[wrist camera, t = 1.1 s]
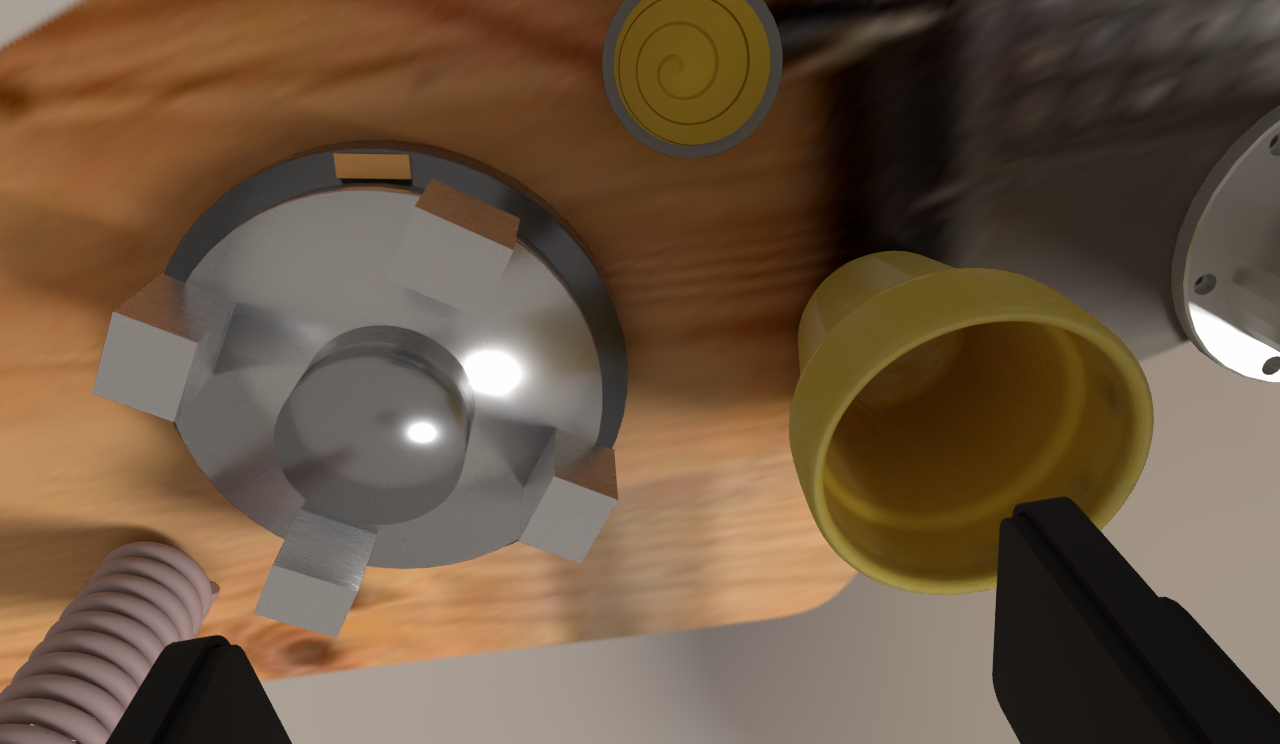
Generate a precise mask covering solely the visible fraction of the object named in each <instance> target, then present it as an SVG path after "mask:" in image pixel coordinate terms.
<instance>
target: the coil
mask: <svg viewBox="0 0 1280 744" xmlns="http://www.w3.org/2000/svg"><path fill="white" fill-rule="evenodd" d="M219 590H220V587H219V586H218V585H217V584H215V583H213V582H210V581H209V579H208V576H207V575H206V573H205V572H204V570H203V569H202V568H201V566H200V565H199V564H198V563H197V562H196V561H195V560H194V559H192V558H191V557H190V556H188V555H187V554H185V553H184V552H182V551H180V550H178V549H176V548H174V547H171V546H169V545H165V544H162V543H157V542H150V541H140V542H132V543H128V544H125V545H122V546H120V547H117V548H115V549H114V550H112V551H111V552H109V554H108V555H107V556H106V557H105V558H104V559H103V561H102V563H101V564H100V566H99V568H97V569H96V570H95V571H94V572H93V574H92V575H91V576H90V578H89V580H88V581H87V584H86V585H84V586H83V587H82V588H81V589H80V590H79V592H78V593H77V595H76V596H75V598H74V600H73V602H72V603H70V604H69V606H68V607H67V608H66V609H65V610H64V611H63V613H62V615H61V616H60V618H59V621H57V622H56V623H55V624H54V625H53V626H52V627H51V628H50V630H49V631H48V632H47V634H46V636H45V638H44V641H42V642H41V643H40V644H39V645H38V646H37V647H36V648H35V649H34V650H33V652H32V653H31V655H30V657H29V660H28V662H26V663H25V664H24V665H23V666H22V667H21V668H20V669H19V670H18V671H17V672H16V674H15V675H14V677H13V679H12V682H11V684H10V685H9V686H7V687H6V688H5V689H4V690H3V691H2V692H1V693H0V744H106V742H107V740H108V739H109V737H110V735H111V734H112V732H113V730H114V729H115V727H116V725H117V724H118V722H119V720H120V719H121V717H122V715H123V714H124V712H125V711H126V709H127V707H128V706H129V704H130V702H131V701H132V699H133V697H134V696H135V694H136V692H137V691H138V689H139V687H140V686H141V684H142V682H143V681H144V679H145V678H146V676H147V674H148V673H149V671H150V669H151V668H152V666H153V664H154V663H155V661H156V659H157V658H158V656H159V654H160V653H161V652H162V650H163V649H164V648H165V647H166V646H167V645H169V644H171V643H172V642H178V641H184V640H190V639H193V638H194V637H195V635H196V634H197V632H198V631H199V628H200V626H201V622H202V621H203V620H204V619H205V617H206V616H207V614H208V612H209V610H210V607H211V605H212V603H213V602H214V601H215V599H216V598H217V596H218V593H219ZM94 718H96V719H94ZM30 724H33V725H34V726H32V725H30ZM71 739H72V740H76V741H72V740H71Z"/></svg>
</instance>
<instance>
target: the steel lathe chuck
mask: <svg viewBox="0 0 1280 744" xmlns="http://www.w3.org/2000/svg"><path fill="white" fill-rule="evenodd" d="M519 221H520V218H518V217H516V216H513V215H511V214H509V213H507V212H505V211H502V210H500V209H498V208H496V207H494V206H492V205H489V204H487V203H485V202H483V201H481V200H478V199H476V198H474V197H472V196H470V195H467V194H465V193H463V192H461V191H459V190H457V189H454V188H452V187H450V186H448V185H446V184H443V183H441V182H439V181H437V180H435V179H431V181H430V182H429V184H428V186H427V187H426V189H423V188H419V187H415V186H407V185H398V184H390V183H349V184H341V185H334V186H327V187H321V188H318V189H314V190H310V191H307V192H303V193H300V194H296V195H293V196H291V197H289V198H286V199H284V200H282V201H279V202H277V203H275V204H273V205H270V206H268V207H266V208H265V209H263V210H262V211H260V212H258V213H257V214H255V215H254V216H252V217H250V218H249V219H247V220H246V221H244V222H243V223H242V224H240V225H239V226H238V227H237V228H236V229H234V230H233V231H232V232H231V233H230V234H228V235H227V236H226V237H225V238H224V239H223V240H222V241H220V242H219V243H218V244H217V245H216V246H215V247H213V248H212V249H211V250H210V251H209V252H208V253H207V255H206V256H205V257H204V258H203V259H202V261H201V262H200V263H199V264H198V265H197V267H196V268H195V269H194V270H193V271H192V273H191V275H190V276H189V278H188V280H187V281H186V283H185V282H183V281H180V280H178V279H175V278H173V277H170V276H167V275H165V274H162V273H161V274H160V275H158V276H157V277H156V278H155V279H153V280H152V281H151V282H150V283H148V284H147V285H146V286H145V287H143V288H142V289H141V290H139V291H138V292H137V293H136V294H134V295H133V296H132V297H131V298H129V299H128V300H127V301H126V302H124V303H123V304H122V305H120V306H119V307H118V308H117V309H115V310H114V311H113V313H112V317H111V321H110V325H109V329H108V333H107V337H106V341H105V344H104V348H103V352H102V356H101V360H100V364H99V368H98V372H97V376H96V380H95V384H94V388H93V392H92V394H94V395H97V396H100V397H103V398H106V399H108V400H111V401H114V402H117V403H120V404H123V405H126V406H129V407H131V408H134V409H137V410H140V411H143V412H146V413H149V414H152V415H155V416H157V417H160V418H163V419H166V420H169V421H172V422H174V421H175V423H176V425H177V428H178V430H179V432H180V435H181V437H182V439H183V441H184V444H185V445H186V447H187V448H188V450H189V452H190V453H191V455H192V457H193V458H194V460H195V462H196V463H197V465H198V466H199V467H200V469H201V470H202V471H203V473H204V474H205V475H206V476H207V478H208V479H209V480H210V481H211V483H212V484H213V485H214V486H215V487H216V488H217V489H218V490H219V491H220V492H221V493H222V494H223V495H224V496H225V497H226V498H227V499H228V500H229V501H230V502H231V503H232V504H233V505H234V506H235V507H237V508H238V509H239V510H240V511H242V512H243V513H244V514H246V515H247V516H248V517H249V518H251V519H252V520H253V521H255V522H256V523H258V524H259V525H261V526H262V527H264V528H266V529H267V530H269V531H270V532H272V533H274V534H275V535H277V536H279V537H281V538H283V539H285V541H284V543H283V545H282V547H281V549H280V551H279V553H278V555H277V557H276V559H275V561H274V563H273V565H272V568H271V570H270V573H269V576H268V578H267V581H266V583H265V586H264V588H263V591H262V593H261V596H260V598H259V601H258V603H257V606H256V608H255V611H254V614H257V615H260V616H264V617H267V618H271V619H274V620H277V621H281V622H284V623H288V624H291V625H294V626H298V627H301V628H304V629H308V630H311V631H315V632H318V633H321V634H325V635H328V636H331V637H335V638H337V636H338V634H339V631H340V629H341V627H342V625H343V623H344V620H345V618H346V616H347V614H348V612H349V610H350V607H351V605H352V603H353V601H354V599H355V596H356V594H357V592H358V589H359V586H360V583H361V580H362V577H363V574H364V571H365V568H366V566H372V567H382V568H397V569H407V568H429V567H436V566H443V565H450V564H454V563H458V562H462V561H466V560H470V559H474V558H477V557H480V556H483V555H485V554H488V553H491V552H493V551H496V550H498V549H500V548H502V547H504V546H506V545H508V544H510V543H512V542H514V541H516V540H518V539H519V541H518V542H521V543H524V544H526V545H529V546H532V547H535V548H538V549H541V550H544V551H547V552H550V553H552V554H555V555H558V556H561V557H564V558H567V559H570V560H573V561H575V562H578V563H581V562H582V561H583V559H584V557H585V556H586V554H587V552H588V551H589V549H590V547H591V546H592V544H593V542H594V540H595V539H596V537H597V535H598V534H599V532H600V530H601V529H602V527H603V525H604V523H605V522H606V520H607V518H608V517H609V515H610V513H611V512H612V510H613V508H614V506H615V505H616V503H617V501H618V491H617V479H616V466H615V453H614V450H613V449H610V448H608V447H605V446H603V445H600V444H598V443H596V441H597V437H598V434H599V429H600V422H601V415H602V376H601V366H600V360H599V354H598V347H597V344H596V340H595V337H594V334H593V331H592V328H591V324H590V322H589V319H588V317H587V315H586V313H585V311H584V309H583V307H582V305H581V303H580V300H579V298H578V297H577V295H576V294H575V292H574V291H573V289H572V288H571V286H570V285H569V283H568V282H567V280H566V279H565V277H564V276H563V275H562V273H561V272H560V271H559V270H558V269H557V268H556V266H555V265H554V264H553V263H552V262H551V261H550V259H549V258H548V257H547V256H546V255H545V254H544V253H543V252H542V251H541V250H540V249H538V248H537V247H536V246H535V245H534V244H533V243H532V242H531V241H530V240H528V239H527V238H526V237H525V236H524V235H522V234H521V233H520V232H518V226H519Z"/></svg>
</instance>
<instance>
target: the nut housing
mask: <svg viewBox="0 0 1280 744" xmlns="http://www.w3.org/2000/svg"><path fill="white" fill-rule="evenodd" d="M431 179H435V180H437V181H439V182H441V183H443V184H446V185H448V186H450V187H452V188H454V189H457V190H459V191H461V192H463V193H465V194H467V195H470V196H472V197H474V198H476V199H478V200H481V201H483V202H485V203H487V204H489V205H492V206H494V207H496V208H498V209H500V210H502V211H505V212H507V213H509V214H511V215H513V216H516V217H518V218H520V221H519V226H518V232H520V233H521V234H522V235H524V236H525V237H526V238H527V239H528V240H530V241H531V242H532V243H533V244H534V245H535V246H536V247H537V248H538V249H540V250H541V251H542V252H543V253H544V254H545V255H546V256H547V257H548V258H549V259H550V261H551V262H552V263H553V264H554V265H555V266H556V268H557V269H558V270H559V271H560V272H561V273H562V275H563V276H564V277H565V279H566V280H567V282H568V283H569V285H570V286H571V288H572V289H573V291H574V292H575V294H576V295H577V297H578V298H579V300H580V303H581V305H582V307H583V309H584V311H585V313H586V315H587V317H588V319H589V322H590V324H591V328H592V331H593V334H594V337H595V340H596V344H597V347H598V354H599V360H600V366H601V376H602V415H601V422H600V429H599V434H598V437H597V441H596V443H598V444H600V445H603V446H605V447H608V448H610V449H612V447H613V445H614V443H615V441H616V438H617V434H618V431H619V428H620V425H621V422H622V418H623V414H624V408H625V401H626V395H627V358H626V350H625V343H624V336H623V329H622V322H621V318H620V315H619V311H618V308H617V304H616V301H615V297H614V295H613V292H612V290H611V288H610V286H609V283H608V281H607V279H606V277H605V274H604V272H603V270H602V268H601V267H600V265H599V264H598V262H597V260H596V259H595V257H594V256H593V254H592V252H591V251H590V249H589V248H588V246H587V244H586V243H585V242H584V241H583V240H582V238H581V237H580V236H579V235H578V234H577V232H576V231H575V230H574V229H573V228H572V226H571V225H570V224H569V223H568V221H566V220H565V219H564V218H563V217H562V216H561V215H560V214H559V213H558V212H557V211H556V210H555V209H554V208H553V207H551V206H550V205H549V204H548V203H547V202H546V201H545V200H544V199H542V198H541V197H540V196H538V195H537V194H535V193H534V192H533V191H531V190H530V189H529V188H527V187H526V186H524V185H523V184H522V183H520V182H519V181H517V180H515V179H513V178H512V177H510V176H508V175H506V174H504V173H502V172H501V171H499V170H497V169H495V168H493V167H491V166H490V165H487V164H485V163H482V162H479V161H477V160H474V159H472V158H469V157H467V156H464V155H462V154H459V153H456V152H452V151H448V150H444V149H440V148H436V147H432V146H429V145H423V144H415V143H407V142H399V141H354V142H346V143H339V144H332V145H326V146H322V147H318V148H315V149H311V150H308V151H304V152H301V153H297V154H294V155H292V156H290V157H287V158H285V159H283V160H281V161H278V162H276V163H274V164H272V165H269V166H267V167H265V168H264V169H262V170H261V171H259V172H258V173H256V174H254V175H253V176H251V177H250V178H248V179H247V180H245V181H243V182H242V183H240V184H239V185H238V186H236V187H235V188H233V189H232V190H231V191H229V192H228V193H226V194H225V195H224V196H223V197H221V198H220V199H219V200H218V201H217V202H216V203H215V204H214V205H212V206H211V207H210V208H209V209H208V210H207V211H206V212H204V213H203V214H202V215H201V216H200V218H199V219H198V220H197V221H196V223H195V224H194V225H193V226H192V227H191V229H190V230H189V231H188V232H187V234H186V235H185V236H184V237H183V239H182V240H181V242H180V244H179V246H178V247H177V249H176V251H175V253H174V254H173V256H172V258H171V260H170V261H169V263H168V266H167V268H166V271H165V275H167V276H170V277H173V278H175V279H178V280H180V281H183V282H185V283H186V281H187V280H188V278H189V276H190V275H191V273H192V271H193V270H194V269H195V268H196V267H197V265H198V264H199V263H200V262H201V261H202V259H203V258H204V257H205V256H206V255H207V253H208V252H209V251H210V250H211V249H212V248H213V247H215V246H216V245H217V244H218V243H219V242H220V241H222V240H223V239H224V238H225V237H226V236H227V235H228V234H230V233H231V232H232V231H233V230H234V229H236V228H237V227H238V226H239V225H240V224H242V223H243V222H244V221H246V220H247V219H249V218H250V217H252V216H254V215H255V214H257V213H258V212H260V211H262V210H263V209H265V208H266V207H268V206H270V205H273V204H275V203H277V202H279V201H282V200H284V199H286V198H289V197H291V196H293V195H296V194H300V193H303V192H307V191H310V190H314V189H318V188H321V187H327V186H334V185H341V184H349V183H390V184H398V185H407V186H415V187H419V188H423V189H426V187H427V186H428V184H429V182H430V181H431ZM173 423H174V426H175V428H176V429H177V431H178V433H179V434H180V432H179V430H178V428H177V425H176V423H175V421H174V422H173ZM180 436H181V435H180ZM181 438H182V437H181ZM518 540H519V539H518ZM518 540H516V541H518ZM516 541H514V542H512V543H510V544H513V543H515V542H516ZM510 544H508V545H510ZM506 546H507V545H506ZM504 547H505V546H504Z"/></svg>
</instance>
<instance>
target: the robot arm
mask: <svg viewBox="0 0 1280 744" xmlns="http://www.w3.org/2000/svg"><path fill="white" fill-rule="evenodd" d="M1171 292H1172V298H1173V303H1174V308H1175V313H1176V316H1177V318H1178V320H1179V322H1180V324H1181V326H1182V328H1183V330H1184V332H1185V334H1186V336H1187V337H1188V338H1189V339H1190V340H1191V342H1192V343H1193V344H1194V345H1195V346H1196V347H1197V349H1198V350H1199V351H1200V352H1202V353H1203V354H1205V355H1206V356H1208V357H1209V358H1210V359H1212V360H1213V361H1215V362H1216V363H1218V364H1219V365H1220V366H1222V367H1224V368H1226V369H1228V370H1230V371H1232V372H1234V373H1236V374H1238V375H1240V376H1242V377H1245V378H1249V379H1253V380H1257V381H1261V382H1269V383H1280V105H1278V106H1277V107H1276V108H1274V109H1273V110H1271V111H1270V112H1268V113H1267V114H1266V115H1264V116H1263V117H1261V118H1260V119H1259V120H1258V121H1257V122H1256V123H1255V124H1254V125H1253V126H1252V127H1251V128H1249V129H1248V130H1247V131H1246V132H1245V133H1244V134H1243V135H1242V136H1241V137H1240V138H1239V139H1238V140H1237V141H1236V142H1234V143H1233V144H1232V146H1231V147H1230V148H1229V149H1228V151H1227V152H1226V153H1225V154H1224V155H1223V157H1222V158H1221V159H1220V160H1219V162H1218V163H1217V164H1216V165H1215V166H1214V168H1213V169H1212V170H1211V171H1210V173H1209V174H1208V176H1207V177H1206V179H1205V181H1204V182H1203V184H1202V186H1201V187H1200V189H1199V191H1198V192H1197V194H1196V196H1195V197H1194V199H1193V200H1192V202H1191V204H1190V207H1189V209H1188V211H1187V214H1186V216H1185V219H1184V221H1183V223H1182V226H1181V228H1180V231H1179V233H1178V237H1177V242H1176V246H1175V250H1174V255H1173V259H1172V271H1171ZM992 676H993V685H994V689H995V693H996V697H997V699H998V702H999V704H1000V706H1001V709H1002V710H1003V712H1004V714H1005V716H1006V718H1007V720H1008V721H1009V723H1010V725H1011V727H1012V729H1013V731H1014V732H1015V734H1016V736H1017V738H1018V740H1019V741H1020V743H1021V744H1280V713H1279V712H1278V711H1277V710H1276V709H1275V708H1274V707H1273V705H1272V704H1271V703H1270V702H1269V701H1268V700H1267V699H1266V698H1265V697H1264V695H1263V694H1262V693H1261V692H1260V691H1259V690H1258V689H1257V688H1256V687H1255V685H1254V684H1253V683H1252V682H1251V681H1250V680H1249V679H1248V678H1247V677H1246V676H1245V674H1244V673H1243V672H1242V671H1241V670H1240V669H1239V668H1238V667H1237V666H1236V665H1235V663H1234V662H1233V661H1232V660H1231V659H1230V658H1229V657H1228V656H1227V655H1226V654H1225V652H1224V651H1223V650H1222V649H1221V648H1220V647H1219V646H1218V645H1217V643H1215V641H1214V640H1213V639H1212V638H1211V637H1210V636H1209V635H1208V634H1207V633H1206V631H1205V630H1204V629H1203V628H1202V627H1201V626H1200V625H1199V624H1198V623H1197V621H1196V620H1195V619H1194V618H1193V617H1192V616H1191V615H1190V614H1189V613H1188V612H1187V611H1186V610H1185V609H1184V608H1183V607H1182V606H1181V605H1180V604H1178V603H1177V602H1176V601H1174V600H1171V599H1169V598H1167V597H1158V596H1157V595H1156V594H1155V593H1154V591H1153V590H1152V589H1151V588H1150V587H1149V586H1148V585H1147V584H1146V582H1145V581H1144V580H1143V579H1142V578H1141V577H1140V575H1139V574H1138V573H1137V572H1136V571H1135V570H1134V569H1133V568H1132V566H1131V565H1130V564H1129V563H1128V562H1127V561H1126V560H1125V558H1124V557H1123V556H1122V555H1121V554H1120V553H1119V552H1118V551H1117V549H1116V548H1115V547H1114V546H1113V545H1112V544H1111V543H1110V541H1109V540H1108V539H1107V538H1106V537H1105V536H1104V535H1103V533H1102V532H1101V531H1100V530H1099V529H1098V528H1097V527H1096V526H1095V524H1094V523H1093V522H1092V521H1091V520H1090V519H1089V518H1088V516H1087V515H1086V514H1085V513H1084V512H1083V511H1082V510H1081V509H1080V507H1079V506H1078V505H1077V504H1076V503H1075V502H1074V501H1073V500H1072V499H1070V498H1068V497H1065V496H1062V497H1056V498H1050V499H1044V500H1038V501H1032V502H1026V503H1020V504H1017V505H1016V506H1015V508H1014V509H1013V514H1012V517H1011V518H1005V519H1002V521H1001V523H1000V529H999V549H998V569H997V590H996V610H995V631H994V651H993V673H992ZM106 744H292V743H291V741H290V739H289V737H288V735H287V733H286V731H285V729H284V727H283V725H282V723H281V721H280V719H279V718H278V716H277V714H276V712H275V710H274V708H273V706H272V704H271V702H270V700H269V698H268V697H267V695H266V693H265V691H264V689H263V687H262V685H261V683H260V681H259V679H258V677H257V675H256V673H255V671H254V669H253V667H252V666H251V664H250V662H249V660H248V658H247V656H246V654H245V652H244V651H243V649H242V648H241V647H240V646H238V645H231V644H230V643H229V642H228V640H227V639H226V638H224V637H223V636H221V635H215V636H208V637H202V638H196V639H190V640H184V641H178V642H172V643H171V644H169V645H167V646H166V647H165V648H164V649H163V650H162V652H161V653H160V654H159V656H158V658H157V659H156V661H155V663H154V664H153V666H152V668H151V669H150V671H149V673H148V674H147V676H146V678H145V679H144V681H143V682H142V684H141V686H140V687H139V689H138V691H137V692H136V694H135V696H134V697H133V699H132V701H131V702H130V704H129V706H128V707H127V709H126V711H125V712H124V714H123V715H122V717H121V719H120V720H119V722H118V724H117V725H116V727H115V729H114V730H113V732H112V734H111V735H110V737H109V739H108V740H107V742H106Z"/></svg>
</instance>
